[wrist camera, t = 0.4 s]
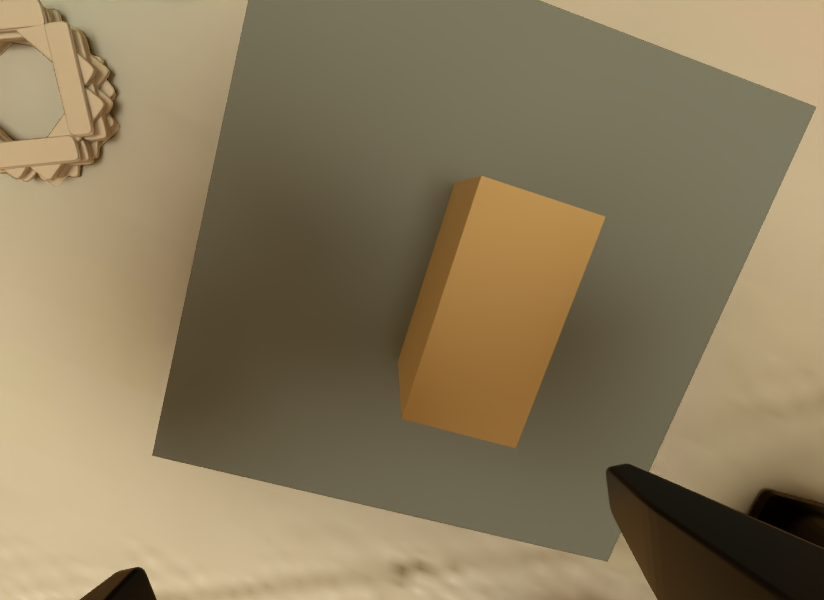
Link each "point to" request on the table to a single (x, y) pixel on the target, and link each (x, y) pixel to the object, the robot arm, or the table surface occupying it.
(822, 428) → the table surface
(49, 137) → the right angle wall
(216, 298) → the lid
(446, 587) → the table surface
